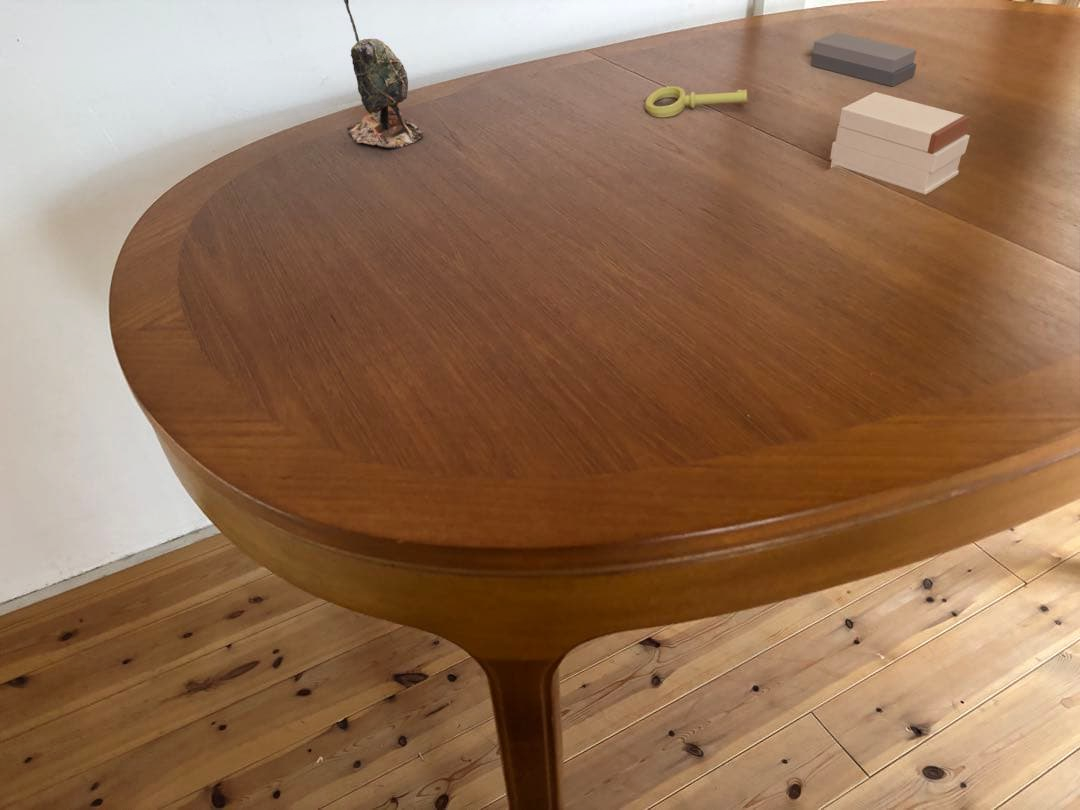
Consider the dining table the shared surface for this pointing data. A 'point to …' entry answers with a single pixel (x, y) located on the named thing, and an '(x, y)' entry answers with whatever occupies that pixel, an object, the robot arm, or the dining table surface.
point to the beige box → (897, 160)
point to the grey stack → (864, 58)
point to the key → (688, 100)
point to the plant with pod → (380, 94)
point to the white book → (904, 122)
